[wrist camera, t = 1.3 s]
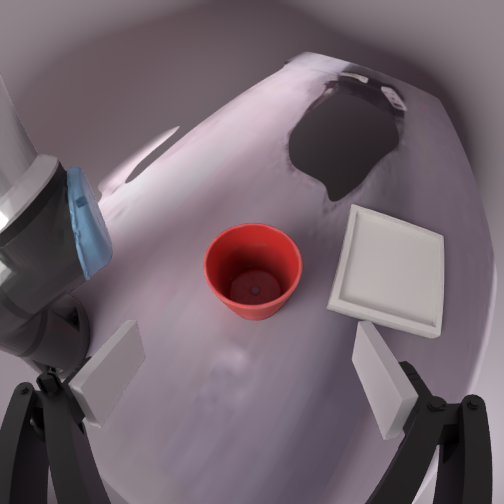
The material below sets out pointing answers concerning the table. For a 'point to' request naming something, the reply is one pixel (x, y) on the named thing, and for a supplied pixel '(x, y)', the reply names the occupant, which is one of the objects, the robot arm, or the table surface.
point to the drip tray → (390, 274)
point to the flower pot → (253, 269)
